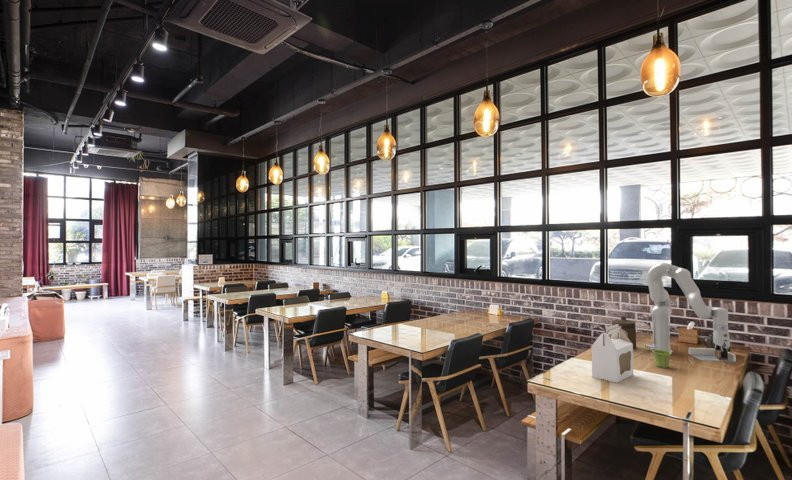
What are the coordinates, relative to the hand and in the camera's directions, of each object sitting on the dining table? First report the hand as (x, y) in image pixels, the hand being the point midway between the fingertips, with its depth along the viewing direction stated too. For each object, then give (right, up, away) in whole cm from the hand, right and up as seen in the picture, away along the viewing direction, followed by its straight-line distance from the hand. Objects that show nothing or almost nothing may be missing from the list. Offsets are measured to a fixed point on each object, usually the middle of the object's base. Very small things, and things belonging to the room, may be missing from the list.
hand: (721, 356), depth 253 cm
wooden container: (-40, -4, +36) cm, 54 cm away
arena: (-3, -3, +4) cm, 6 cm away
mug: (+11, -3, +17) cm, 20 cm away
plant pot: (-44, -3, -11) cm, 46 cm away
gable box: (-83, -3, -27) cm, 87 cm away
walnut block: (0, -2, 0) cm, 2 cm away
